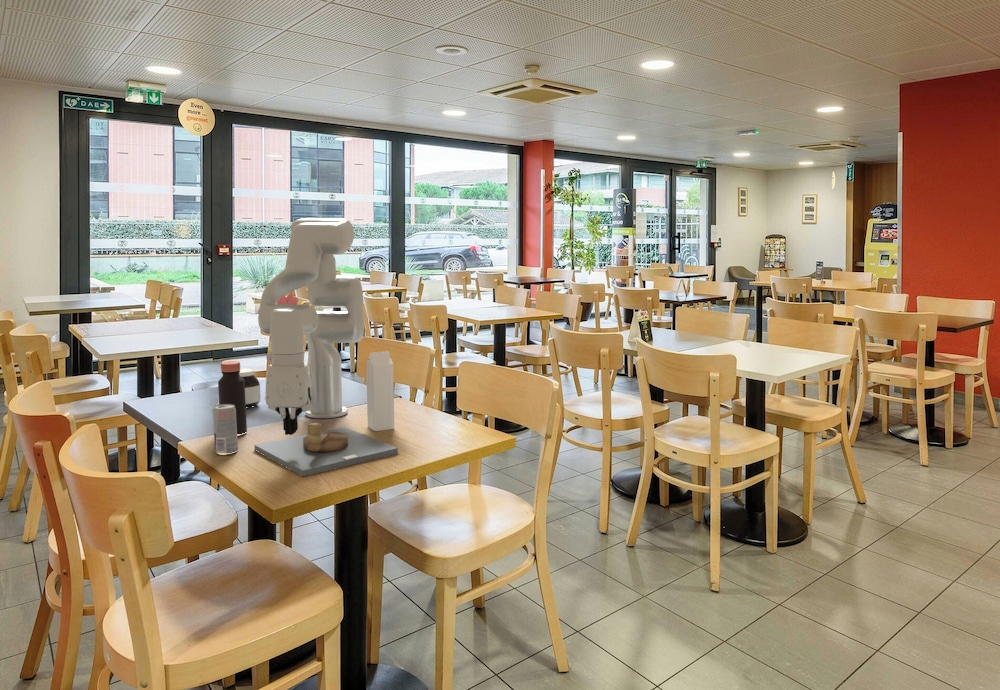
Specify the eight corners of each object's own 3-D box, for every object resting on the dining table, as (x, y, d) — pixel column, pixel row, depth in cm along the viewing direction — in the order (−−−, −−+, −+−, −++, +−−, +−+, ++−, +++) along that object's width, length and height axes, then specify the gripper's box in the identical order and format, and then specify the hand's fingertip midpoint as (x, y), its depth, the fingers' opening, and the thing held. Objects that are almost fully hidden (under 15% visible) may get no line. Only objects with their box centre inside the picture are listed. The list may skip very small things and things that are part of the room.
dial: (311, 438, 184) (309, 409, 183) (352, 439, 184) (351, 410, 182) (290, 458, 168) (289, 425, 167) (335, 459, 168) (335, 426, 166)
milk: (394, 429, 200) (393, 353, 197) (374, 431, 197) (373, 354, 194) (387, 423, 205) (386, 349, 202) (367, 426, 202) (365, 351, 199)
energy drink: (229, 448, 181) (227, 402, 179) (242, 451, 178) (240, 405, 176) (210, 453, 177) (208, 406, 175) (223, 457, 174) (221, 410, 172)
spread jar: (264, 406, 225) (263, 370, 223) (234, 413, 216) (232, 376, 214) (240, 400, 231) (238, 366, 230) (210, 407, 222) (208, 371, 220)
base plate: (254, 450, 179) (254, 444, 179) (344, 431, 197) (344, 425, 196) (302, 476, 160) (302, 469, 160) (397, 453, 178) (397, 447, 178)
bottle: (222, 438, 189) (218, 365, 186) (219, 432, 195) (215, 361, 192) (248, 435, 192) (245, 363, 189) (245, 429, 198) (241, 359, 195)
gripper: (251, 361, 166) (254, 436, 169) (311, 363, 165) (314, 439, 167) (265, 356, 174) (268, 427, 177) (323, 358, 172) (325, 430, 175)
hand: (290, 433), depth 172 cm, fingers closed
